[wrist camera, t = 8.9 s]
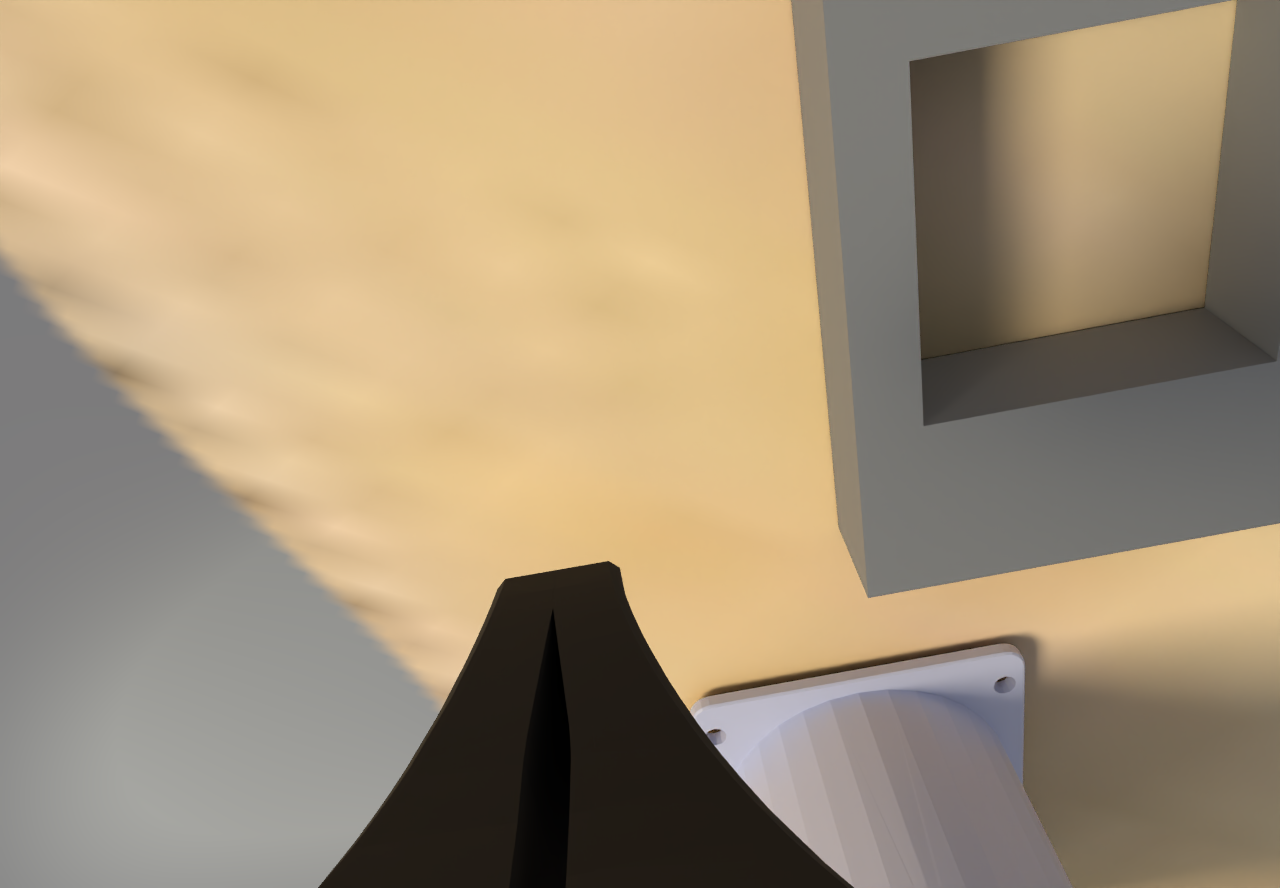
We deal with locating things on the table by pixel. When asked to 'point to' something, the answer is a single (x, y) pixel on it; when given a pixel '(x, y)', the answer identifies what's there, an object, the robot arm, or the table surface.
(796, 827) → the robot arm
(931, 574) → the trap deck
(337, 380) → the table surface
